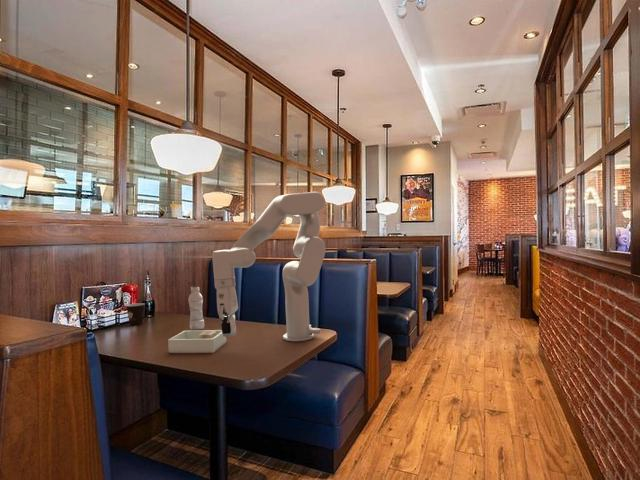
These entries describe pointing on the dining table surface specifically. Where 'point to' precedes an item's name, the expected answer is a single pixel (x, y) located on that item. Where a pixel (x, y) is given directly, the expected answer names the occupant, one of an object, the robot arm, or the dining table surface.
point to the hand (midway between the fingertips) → (229, 330)
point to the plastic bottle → (196, 309)
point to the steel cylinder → (233, 326)
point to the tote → (195, 342)
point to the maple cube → (208, 335)
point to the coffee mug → (136, 313)
